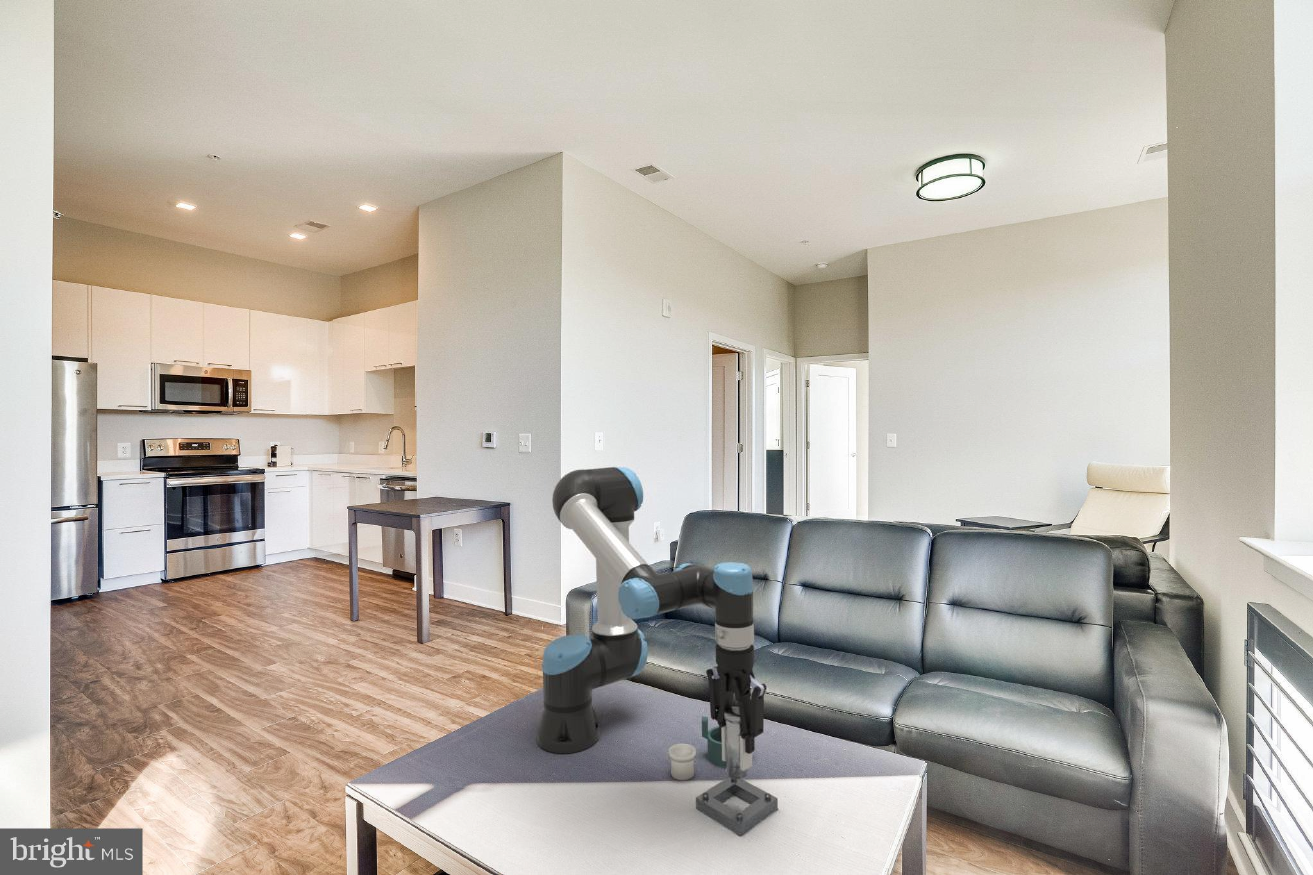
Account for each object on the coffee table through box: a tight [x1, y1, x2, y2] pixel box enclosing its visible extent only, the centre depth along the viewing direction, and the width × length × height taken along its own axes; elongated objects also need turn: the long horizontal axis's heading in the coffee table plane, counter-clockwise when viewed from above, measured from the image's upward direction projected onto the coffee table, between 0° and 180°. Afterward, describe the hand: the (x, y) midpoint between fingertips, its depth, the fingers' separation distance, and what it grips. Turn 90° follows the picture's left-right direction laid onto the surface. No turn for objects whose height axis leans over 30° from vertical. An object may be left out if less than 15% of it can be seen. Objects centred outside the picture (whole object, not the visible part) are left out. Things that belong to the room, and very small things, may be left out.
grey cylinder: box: [724, 706, 748, 779], centre depth 120 cm, size 5×5×12 cm
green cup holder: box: [701, 716, 727, 768], centre depth 139 cm, size 9×9×9 cm
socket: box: [695, 776, 779, 837], centre depth 120 cm, size 11×11×3 cm
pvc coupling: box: [668, 743, 697, 781], centre depth 133 cm, size 6×6×5 cm
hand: (737, 762), depth 120 cm, fingers closed on grey cylinder, 4 cm apart
